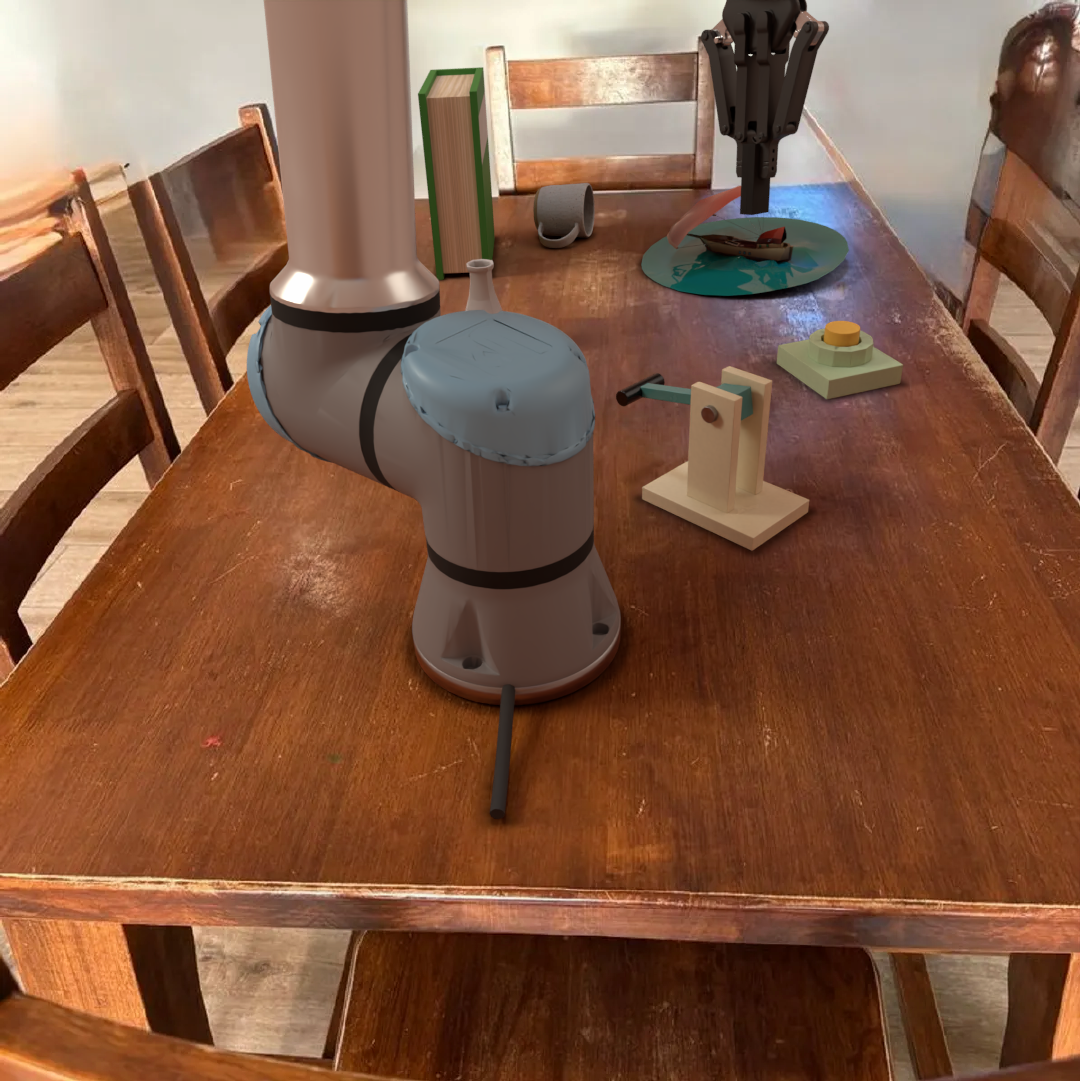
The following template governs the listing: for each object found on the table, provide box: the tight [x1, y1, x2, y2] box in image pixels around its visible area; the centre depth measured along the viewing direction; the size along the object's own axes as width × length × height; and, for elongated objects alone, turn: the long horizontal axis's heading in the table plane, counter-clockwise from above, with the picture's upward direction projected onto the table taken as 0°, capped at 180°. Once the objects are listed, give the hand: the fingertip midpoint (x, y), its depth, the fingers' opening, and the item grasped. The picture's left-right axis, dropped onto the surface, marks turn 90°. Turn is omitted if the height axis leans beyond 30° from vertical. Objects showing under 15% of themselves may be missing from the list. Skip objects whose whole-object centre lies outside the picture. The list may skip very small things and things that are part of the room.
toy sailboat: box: [640, 184, 850, 297], centre depth 137 cm, size 28×28×11 cm
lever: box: [615, 372, 753, 421], centre depth 86 cm, size 12×5×2 cm, turn 44°
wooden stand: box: [641, 365, 810, 552], centre depth 85 cm, size 12×8×12 cm, turn 44°
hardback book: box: [417, 66, 496, 281], centre depth 141 cm, size 18×7×24 cm, turn 0°
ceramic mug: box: [532, 182, 596, 249], centre depth 151 cm, size 11×8×8 cm
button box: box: [776, 327, 904, 400], centre depth 109 cm, size 10×9×4 cm
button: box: [823, 320, 861, 347], centre depth 107 cm, size 4×4×2 cm
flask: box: [464, 259, 504, 314], centre depth 118 cm, size 7×7×10 cm
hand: (754, 212), depth 100 cm, fingers closed
